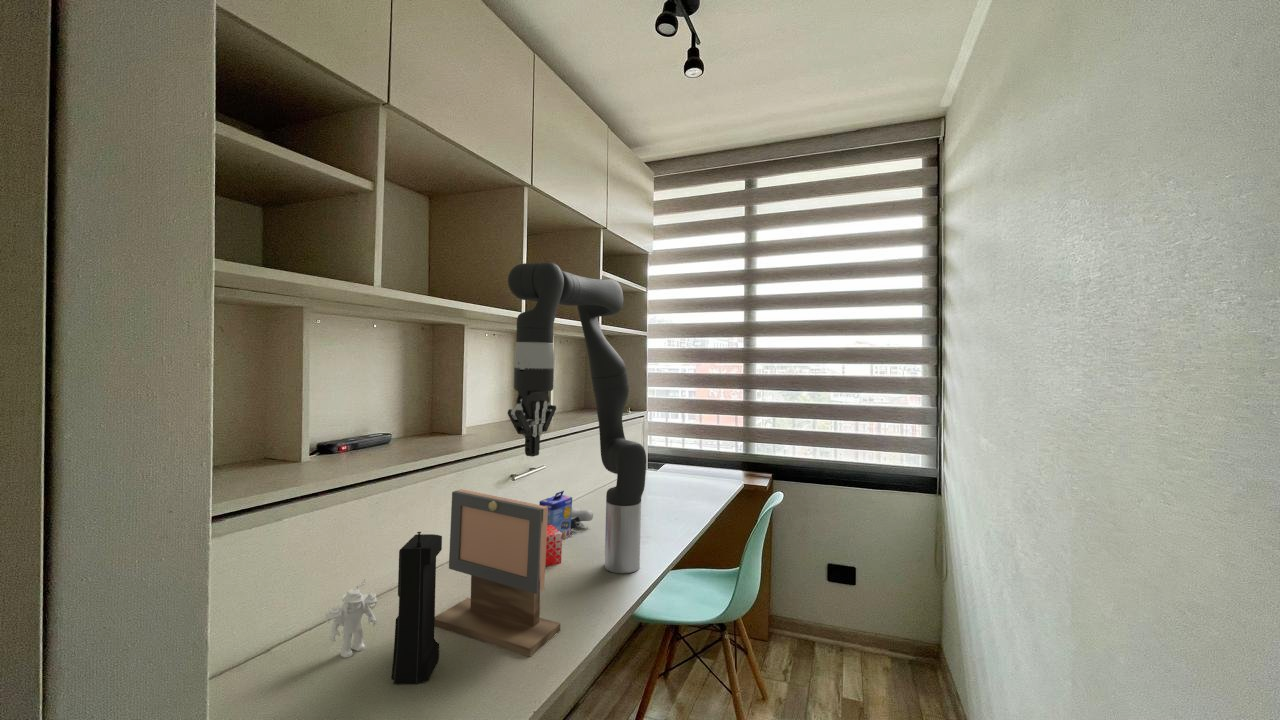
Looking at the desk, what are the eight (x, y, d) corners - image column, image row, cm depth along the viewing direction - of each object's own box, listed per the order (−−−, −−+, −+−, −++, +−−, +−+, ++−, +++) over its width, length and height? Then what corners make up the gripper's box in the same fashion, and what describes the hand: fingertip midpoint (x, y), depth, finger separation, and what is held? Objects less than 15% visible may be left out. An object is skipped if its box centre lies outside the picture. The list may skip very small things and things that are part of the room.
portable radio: (406, 657, 92) (410, 518, 92) (441, 656, 93) (444, 518, 93) (389, 685, 85) (392, 533, 84) (426, 684, 85) (430, 533, 85)
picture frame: (457, 564, 109) (460, 489, 108) (544, 588, 100) (548, 506, 99) (446, 569, 106) (450, 492, 106) (534, 595, 97) (538, 510, 97)
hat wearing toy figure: (370, 636, 99) (371, 574, 99) (381, 643, 97) (383, 579, 97) (320, 659, 91) (322, 591, 91) (331, 666, 89) (333, 597, 89)
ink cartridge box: (551, 546, 148) (552, 496, 148) (536, 542, 151) (537, 493, 151) (572, 536, 157) (573, 488, 157) (557, 532, 160) (558, 486, 160)
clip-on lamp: (534, 534, 167) (574, 533, 157) (530, 514, 167) (570, 513, 157) (559, 521, 177) (598, 520, 166) (556, 503, 177) (594, 501, 167)
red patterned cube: (523, 557, 139) (524, 528, 139) (551, 553, 143) (551, 524, 143) (532, 568, 133) (533, 538, 132) (561, 563, 136) (562, 533, 136)
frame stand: (467, 604, 112) (470, 497, 112) (560, 630, 103) (563, 513, 103) (431, 625, 103) (434, 509, 103) (529, 656, 93) (533, 528, 93)
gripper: (538, 365, 107) (536, 448, 107) (496, 365, 95) (493, 459, 95) (569, 366, 104) (567, 452, 104) (529, 366, 92) (527, 463, 92)
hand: (532, 455), depth 99 cm, fingers closed
